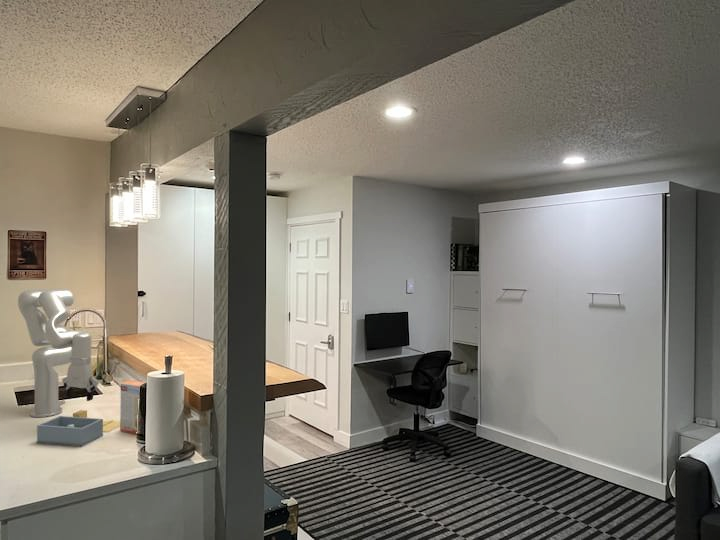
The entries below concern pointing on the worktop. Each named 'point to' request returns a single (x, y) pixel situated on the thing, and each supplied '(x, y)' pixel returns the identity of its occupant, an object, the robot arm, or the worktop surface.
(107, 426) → the lid
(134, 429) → the cracker box
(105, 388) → the worktop surface
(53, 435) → the tub
